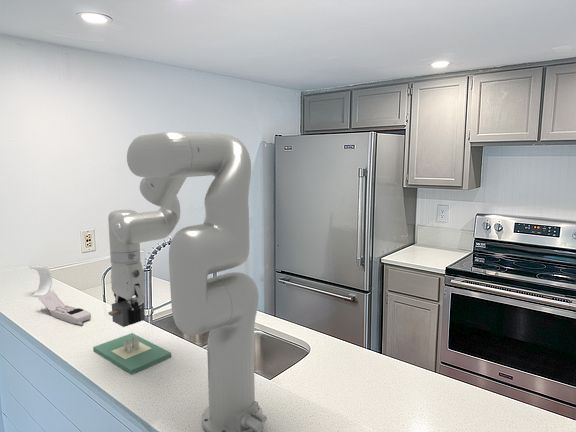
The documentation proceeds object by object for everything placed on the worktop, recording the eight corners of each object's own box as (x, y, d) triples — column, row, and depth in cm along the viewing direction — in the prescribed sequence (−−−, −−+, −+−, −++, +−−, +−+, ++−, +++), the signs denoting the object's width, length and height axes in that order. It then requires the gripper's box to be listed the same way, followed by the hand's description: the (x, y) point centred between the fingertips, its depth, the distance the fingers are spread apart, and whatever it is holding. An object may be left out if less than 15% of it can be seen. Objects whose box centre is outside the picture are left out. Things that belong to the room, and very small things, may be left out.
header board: (171, 357, 116) (170, 342, 115) (131, 374, 107) (130, 359, 106) (132, 336, 129) (131, 323, 128) (93, 350, 120) (92, 337, 119)
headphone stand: (32, 297, 163) (29, 266, 162) (42, 291, 169) (39, 262, 168) (43, 297, 163) (41, 267, 161) (53, 292, 169) (50, 262, 167)
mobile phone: (53, 291, 153) (95, 304, 140) (54, 307, 154) (96, 321, 141) (36, 296, 148) (77, 310, 135) (37, 312, 149) (79, 327, 136)
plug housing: (144, 319, 117) (144, 302, 116) (116, 329, 111) (115, 311, 110) (134, 314, 121) (133, 297, 120) (105, 323, 114) (104, 306, 114)
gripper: (156, 259, 111) (158, 324, 114) (121, 248, 122) (125, 307, 125) (129, 265, 105) (133, 333, 108) (96, 253, 116) (100, 315, 119)
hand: (128, 318), depth 117 cm, fingers closed on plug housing, 5 cm apart
